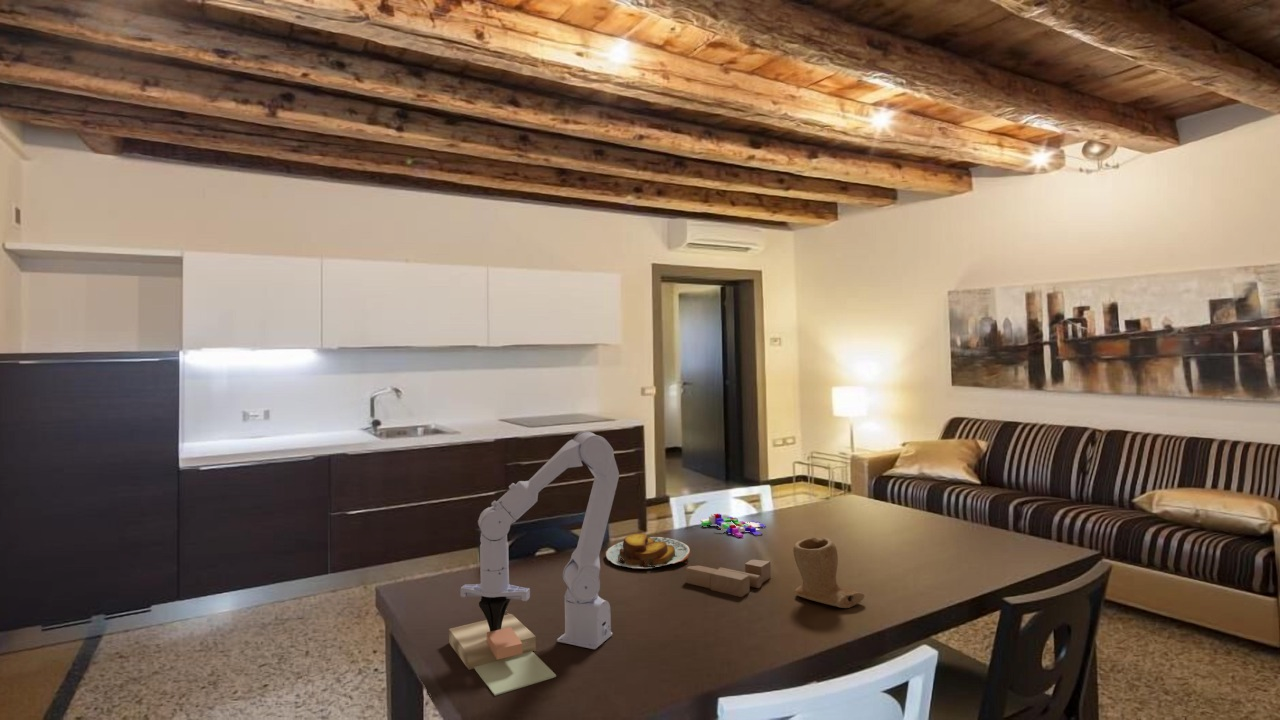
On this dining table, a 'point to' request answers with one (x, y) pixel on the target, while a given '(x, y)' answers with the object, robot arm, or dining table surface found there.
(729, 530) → the building block set
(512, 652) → the tile
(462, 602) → the dining table surface
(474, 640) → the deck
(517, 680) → the mat
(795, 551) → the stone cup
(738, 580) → the wooden block set
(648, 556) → the food on plate
